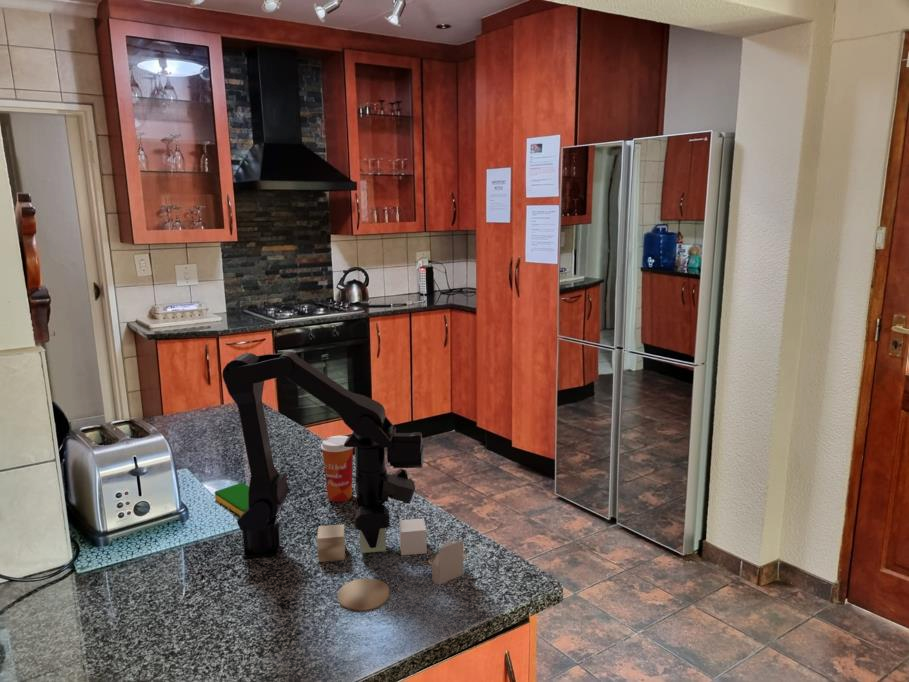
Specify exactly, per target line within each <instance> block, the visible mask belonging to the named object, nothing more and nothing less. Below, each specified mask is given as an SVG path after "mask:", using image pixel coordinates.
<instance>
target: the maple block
mask: <svg viewBox="0 0 909 682" xmlns="http://www.w3.org/2000/svg"><path fill="white" fill-rule="evenodd" d="M317 529H318V530H317V537H316V540H317V541H316V542H317V559H318V560H317V561H318V563H322V562H333V561H345V559H346V539H345V538H346V537H345V524H344V523H343V524H330V525H319V526H318V528H317Z"/></svg>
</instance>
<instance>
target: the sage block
mask: <svg viewBox="0 0 909 682" xmlns="http://www.w3.org/2000/svg"><path fill="white" fill-rule="evenodd" d="M386 529H387V528H382V529H380V531H379V535H378V540H377V544H376V547H375V548H370V546H369V545H368V543H367V541H366V539H365V537H364V535H363V533H362V531H361V530H358V531H359V550H360V554H364V553H365V554H366V553H378V552H387V539H386V537H387V536H386V534H387V533H386V532H387V530H386Z"/></svg>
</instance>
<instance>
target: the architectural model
mask: <svg viewBox="0 0 909 682" xmlns="http://www.w3.org/2000/svg"><path fill="white" fill-rule="evenodd" d="M467 558H468V555H467V554H465V553H464V539H460V540H457V541H455V542H453V541H451V540H449V539H446V540H445V542H444V544H443V545H442V547H439V548H438V554H436V555H432V556H431V558H430V559H428V563H429V564H430V565H431V569H432V570H431V571H432V574H431V576H432V580H431V581H432V582H434V583H435V584H437V585H438V586H439V585H441V584H444V583H446V582H448V581H451V580H453V579H456V578H458V577H461V576H463V575H464V560H465V559H467Z"/></svg>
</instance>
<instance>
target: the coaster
mask: <svg viewBox="0 0 909 682" xmlns="http://www.w3.org/2000/svg"><path fill="white" fill-rule="evenodd" d="M389 598H390V588H389V586H388V585H387V584H386V583H385V582H384V581H382V580H380V579H376V578H370V577H369V578H367V577H366V578H365V577H364V578H357V579H354V580H351V581H349V582H346V583H344V585H342V586H341V587H340V588H339V590H338V592H337V601H338V604H340V605H341V606H342V607H344V608H346V609H347V610H350V611H357V612H358V611H359V612H361V611H362V612H363V611H364V612H365V611H370V610H373V609H376V608H378V607H380V606H382V605H383V604H385V603H386V602H387V601H388V599H389Z"/></svg>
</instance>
